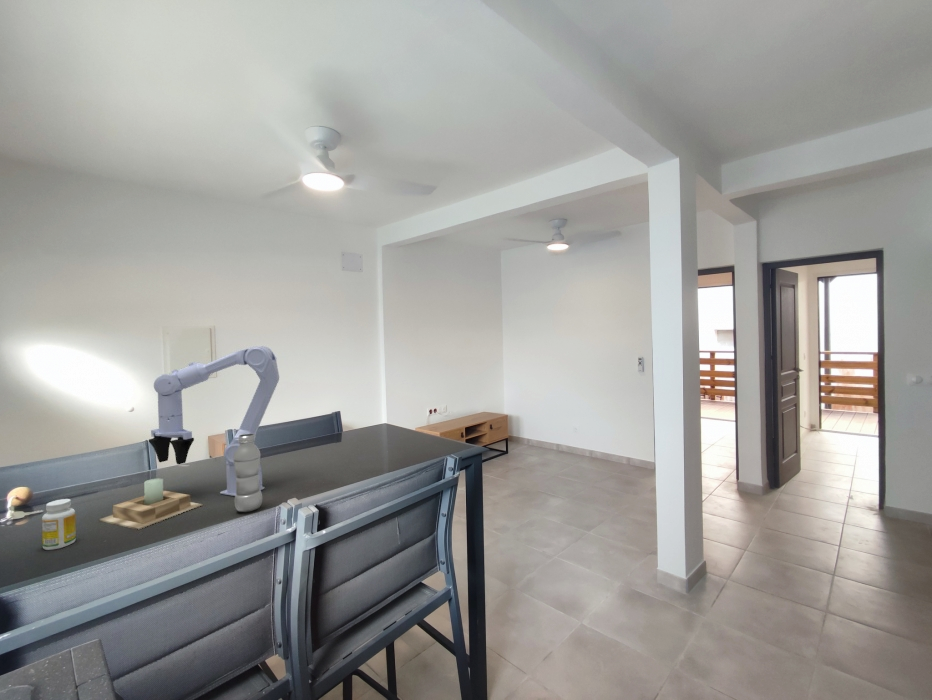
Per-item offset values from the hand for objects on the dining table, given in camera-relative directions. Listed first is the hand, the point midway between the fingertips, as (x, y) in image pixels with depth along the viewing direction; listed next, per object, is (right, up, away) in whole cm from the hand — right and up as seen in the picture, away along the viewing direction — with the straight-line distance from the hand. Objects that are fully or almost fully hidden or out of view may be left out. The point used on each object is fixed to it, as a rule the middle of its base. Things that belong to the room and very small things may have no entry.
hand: (172, 462), depth 123 cm
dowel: (+2, -10, -11) cm, 15 cm away
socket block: (+2, -11, -11) cm, 15 cm away
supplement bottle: (-6, -11, -28) cm, 31 cm away
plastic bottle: (+27, -10, -10) cm, 31 cm away
